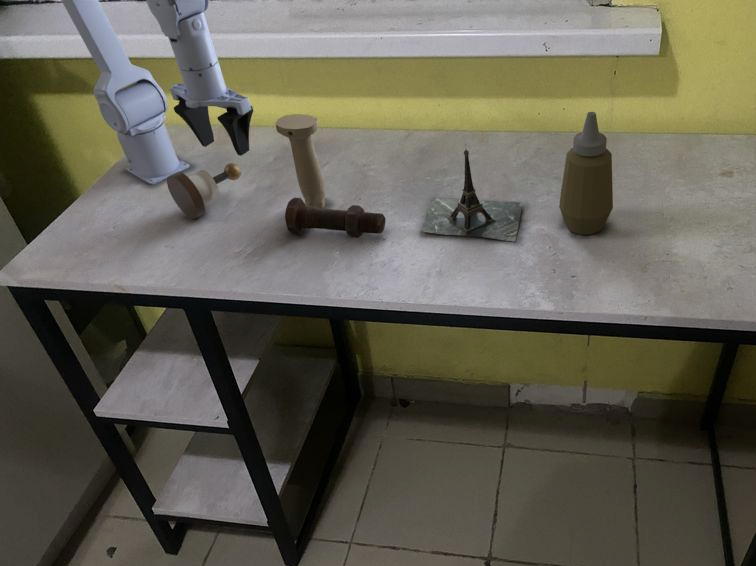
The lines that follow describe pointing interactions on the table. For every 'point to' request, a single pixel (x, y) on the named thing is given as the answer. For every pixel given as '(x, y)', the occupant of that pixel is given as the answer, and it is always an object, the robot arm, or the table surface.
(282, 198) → the table surface
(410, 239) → the table surface
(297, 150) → the handle
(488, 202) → the eiffel tower figurine
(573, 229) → the squeeze bottle
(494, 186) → the table surface
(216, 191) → the joystick
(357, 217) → the bolt
